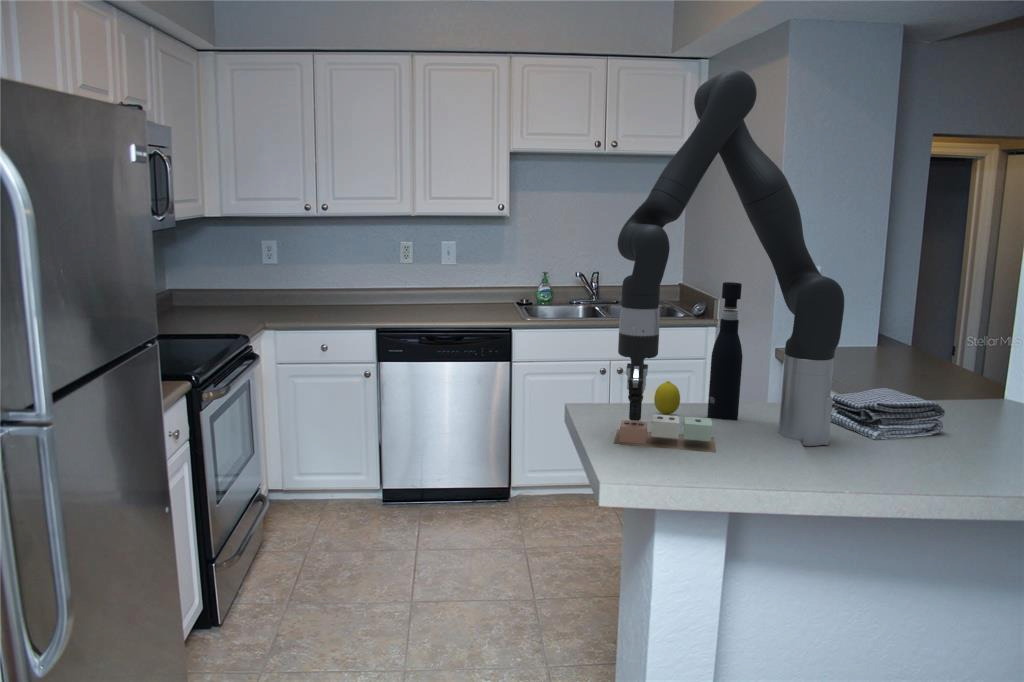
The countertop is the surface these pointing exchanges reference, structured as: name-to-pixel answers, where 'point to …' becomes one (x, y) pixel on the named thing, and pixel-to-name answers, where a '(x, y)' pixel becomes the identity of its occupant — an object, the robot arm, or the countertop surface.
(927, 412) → the towel
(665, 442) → the board
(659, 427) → the key two
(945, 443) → the countertop surface
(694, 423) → the key one
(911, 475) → the countertop surface
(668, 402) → the lemon
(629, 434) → the key three
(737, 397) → the wine bottle
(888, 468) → the countertop surface
